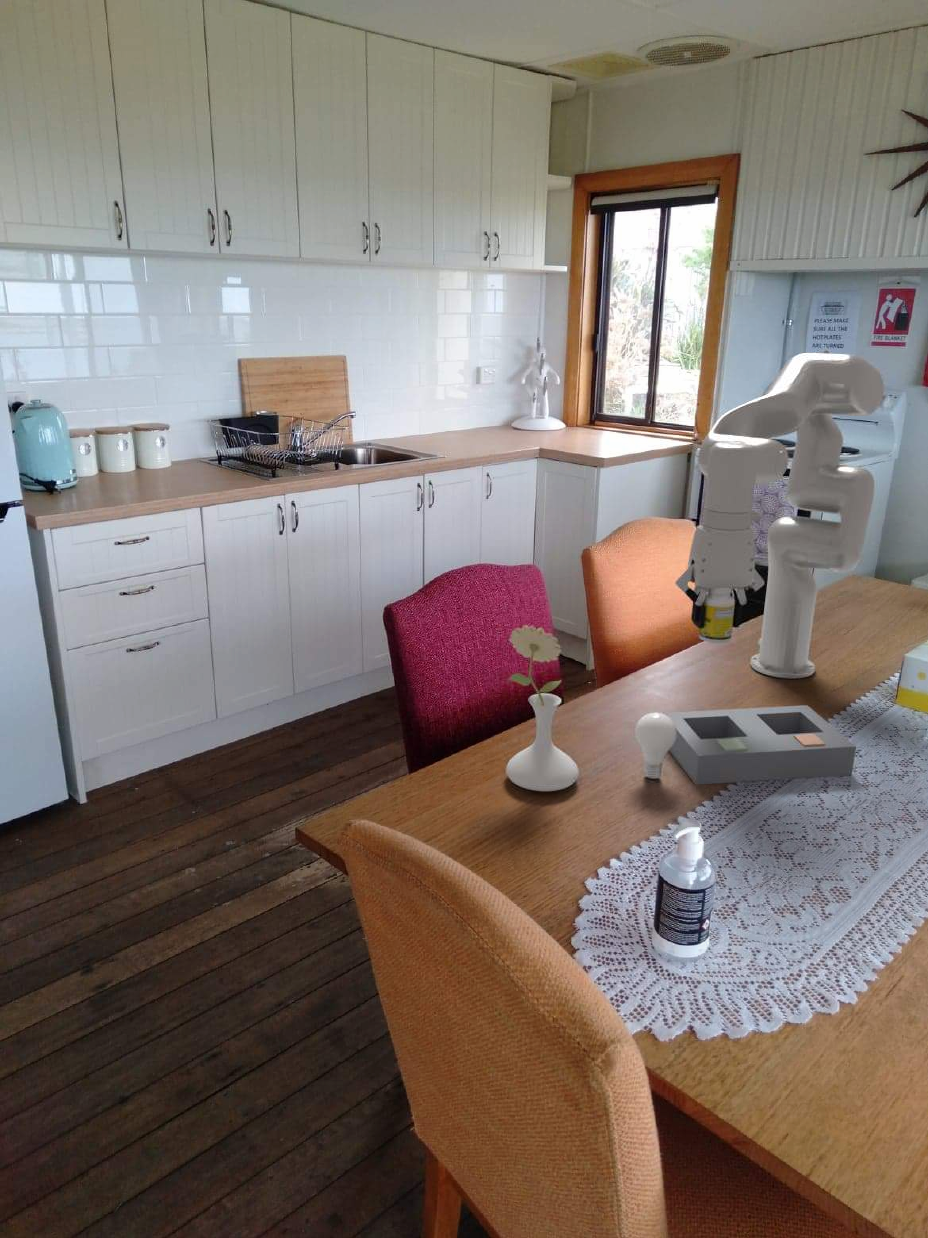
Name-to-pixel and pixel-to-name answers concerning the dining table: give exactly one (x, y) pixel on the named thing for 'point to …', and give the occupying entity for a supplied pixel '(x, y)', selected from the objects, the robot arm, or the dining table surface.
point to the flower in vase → (540, 721)
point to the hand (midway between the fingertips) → (715, 624)
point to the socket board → (759, 745)
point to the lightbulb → (655, 741)
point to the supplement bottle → (718, 616)
